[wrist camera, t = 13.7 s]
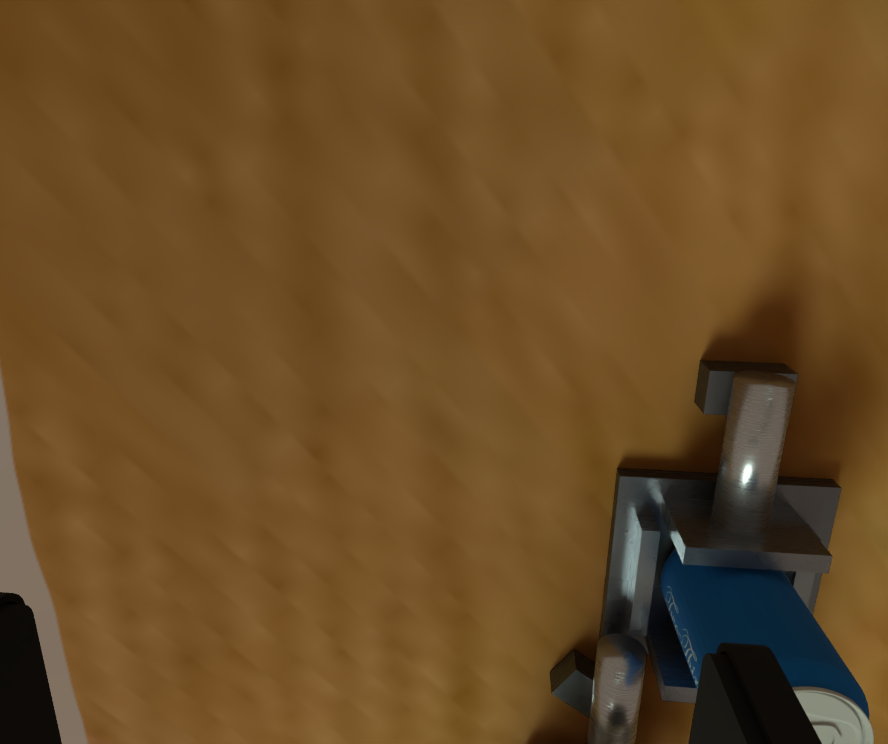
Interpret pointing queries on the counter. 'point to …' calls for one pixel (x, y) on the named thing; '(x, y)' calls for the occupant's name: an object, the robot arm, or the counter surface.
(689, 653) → the beverage can
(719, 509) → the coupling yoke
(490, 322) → the counter surface
